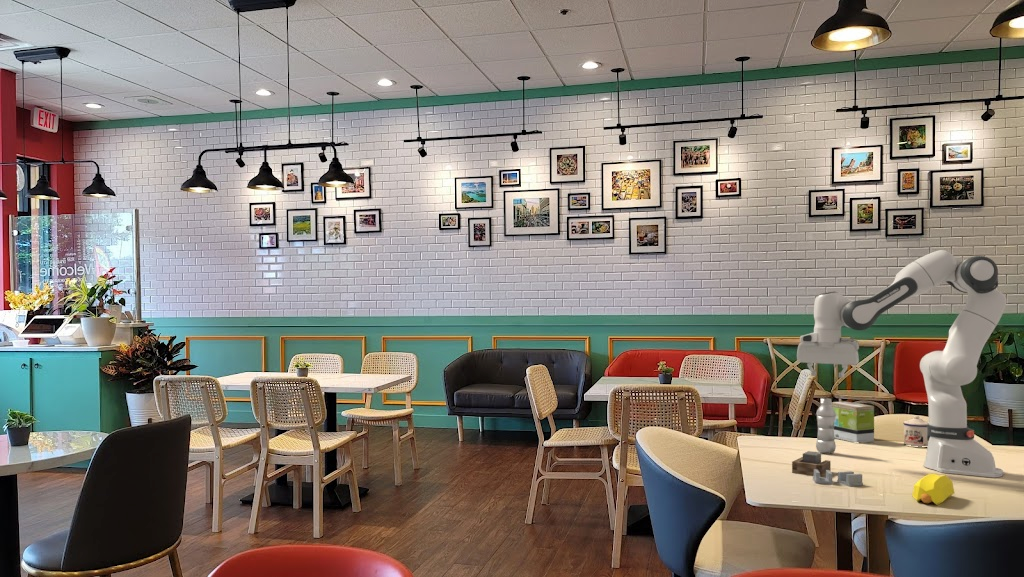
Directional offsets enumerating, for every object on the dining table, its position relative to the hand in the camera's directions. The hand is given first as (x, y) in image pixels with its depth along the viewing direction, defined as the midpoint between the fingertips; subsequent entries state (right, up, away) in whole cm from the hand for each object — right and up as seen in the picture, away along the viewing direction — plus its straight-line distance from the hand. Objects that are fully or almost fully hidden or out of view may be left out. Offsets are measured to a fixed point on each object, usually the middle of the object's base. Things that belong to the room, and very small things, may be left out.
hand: (827, 376), depth 258 cm
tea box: (+27, -31, +41) cm, 58 cm away
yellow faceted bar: (+6, -28, -55) cm, 62 cm away
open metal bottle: (+4, -30, +11) cm, 32 cm away
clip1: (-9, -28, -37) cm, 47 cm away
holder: (-14, -28, -22) cm, 38 cm away
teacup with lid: (+48, -31, +27) cm, 63 cm away
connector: (-13, -27, -20) cm, 36 cm away
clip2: (-17, -28, -35) cm, 48 cm away
